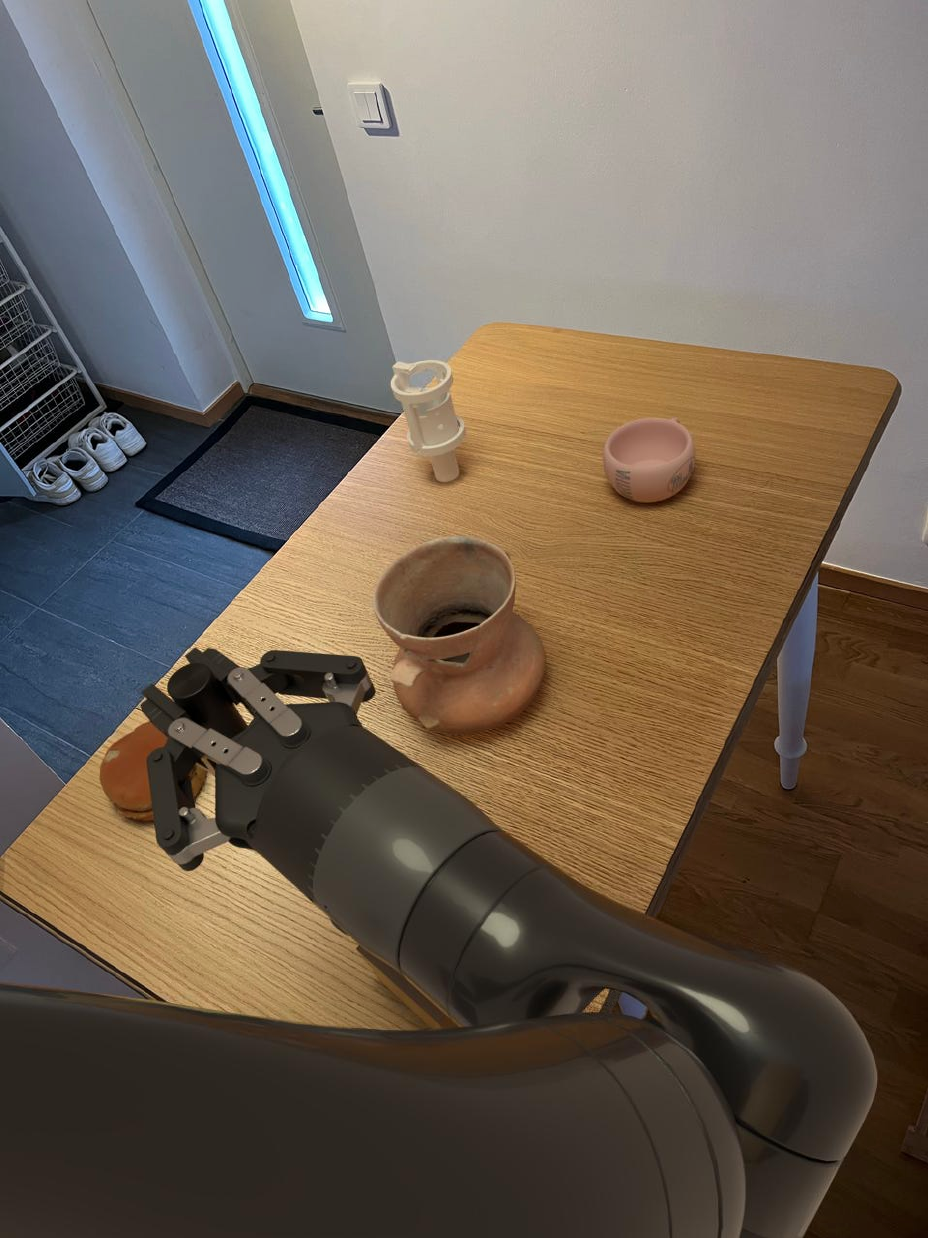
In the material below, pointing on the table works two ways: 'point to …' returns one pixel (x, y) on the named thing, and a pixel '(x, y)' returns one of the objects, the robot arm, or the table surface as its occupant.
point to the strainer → (430, 416)
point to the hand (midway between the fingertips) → (175, 679)
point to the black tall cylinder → (205, 700)
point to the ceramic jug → (458, 636)
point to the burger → (136, 772)
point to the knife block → (407, 992)
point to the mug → (649, 458)
